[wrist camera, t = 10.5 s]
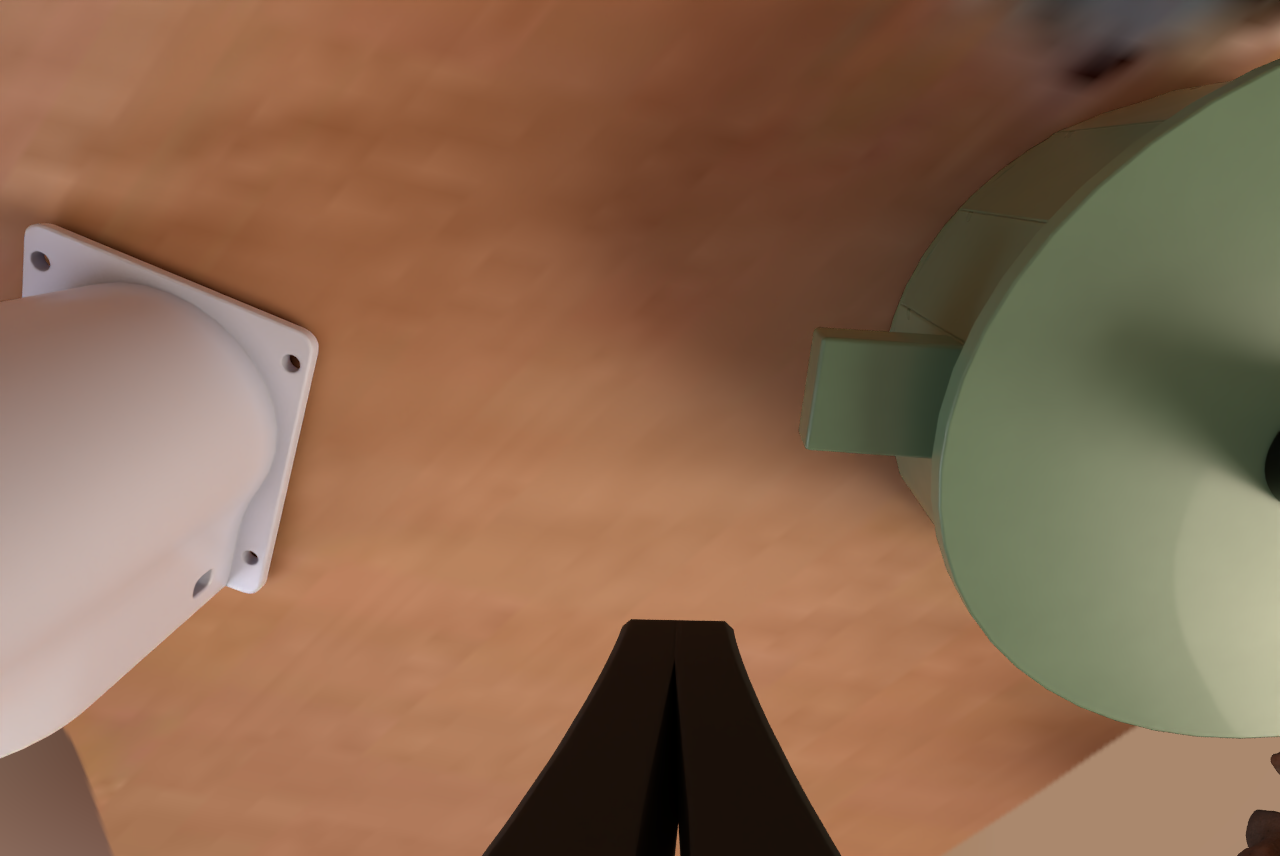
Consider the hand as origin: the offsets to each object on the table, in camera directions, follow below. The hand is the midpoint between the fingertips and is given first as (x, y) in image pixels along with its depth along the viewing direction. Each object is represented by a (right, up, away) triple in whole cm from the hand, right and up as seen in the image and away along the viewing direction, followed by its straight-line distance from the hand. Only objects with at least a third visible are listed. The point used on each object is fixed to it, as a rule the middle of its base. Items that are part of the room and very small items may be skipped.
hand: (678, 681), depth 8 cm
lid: (+12, +3, +3) cm, 13 cm away
